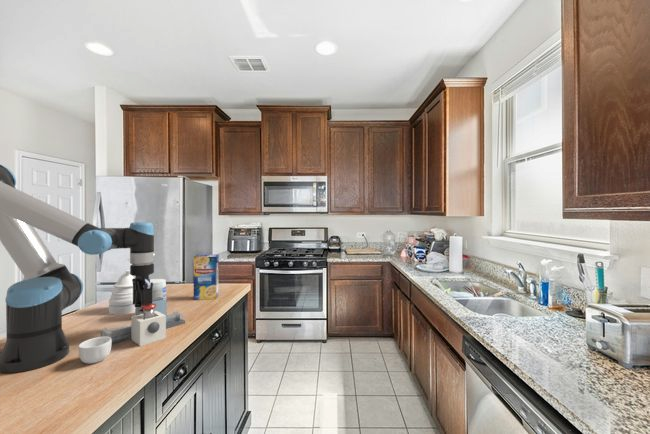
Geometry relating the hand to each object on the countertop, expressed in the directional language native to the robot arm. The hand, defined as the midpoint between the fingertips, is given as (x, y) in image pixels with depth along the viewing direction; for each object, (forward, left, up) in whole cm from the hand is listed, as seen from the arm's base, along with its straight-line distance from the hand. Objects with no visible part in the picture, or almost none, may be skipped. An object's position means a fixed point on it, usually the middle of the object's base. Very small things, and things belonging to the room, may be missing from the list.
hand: (142, 325), depth 108 cm
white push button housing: (-1, -10, -2) cm, 10 cm away
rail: (+1, 0, -2) cm, 2 cm away
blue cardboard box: (+38, +22, -2) cm, 44 cm away
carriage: (+4, 0, 0) cm, 4 cm away
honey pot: (+5, +32, -2) cm, 32 cm away
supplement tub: (+10, +15, -2) cm, 18 cm away
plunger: (-1, -10, +3) cm, 10 cm away
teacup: (-16, -13, -2) cm, 21 cm away
